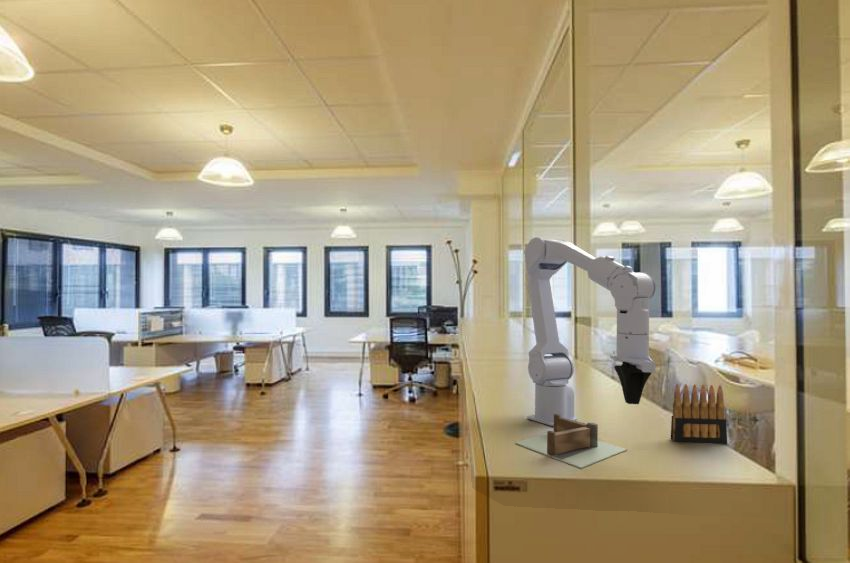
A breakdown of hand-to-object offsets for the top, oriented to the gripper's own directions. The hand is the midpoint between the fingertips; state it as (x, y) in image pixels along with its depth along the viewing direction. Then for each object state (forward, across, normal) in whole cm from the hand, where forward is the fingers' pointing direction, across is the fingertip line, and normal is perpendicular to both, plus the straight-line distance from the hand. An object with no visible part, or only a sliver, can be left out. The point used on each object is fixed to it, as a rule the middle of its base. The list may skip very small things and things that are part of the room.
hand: (632, 403), depth 83 cm
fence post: (+9, -5, -9) cm, 14 cm away
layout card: (+9, -2, -11) cm, 15 cm away
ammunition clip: (+10, -8, +17) cm, 21 cm away
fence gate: (+9, +2, -13) cm, 15 cm away
